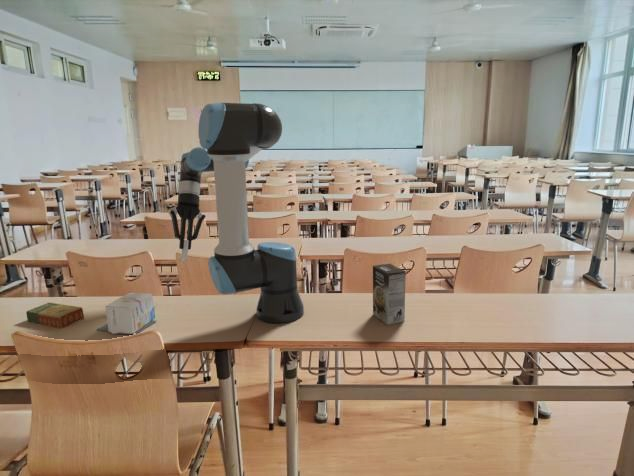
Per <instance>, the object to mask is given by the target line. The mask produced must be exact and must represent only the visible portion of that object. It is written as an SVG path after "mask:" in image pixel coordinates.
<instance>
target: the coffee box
mask: <svg viewBox="0 0 634 476" xmlns="http://www.w3.org/2000/svg"><path fill="white" fill-rule="evenodd" d="M406 273H407V271H406V270H404V269H402V268H400V267H398V266H395V265H393V264H392V263H386V264H385V263H384V264H383V263H382V264H376V265H372V314H373V316H375V317H376V318H377V319H379V320H380V321H381V322H383V323H384V324H386V325H387V326H389V325H394V324H398V323H399V324H400V323H403V322H405V315H406V314H405V313H406V312H405V311H406V309H405V308H406V307H405V306H406V275H407V274H406Z"/></svg>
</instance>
